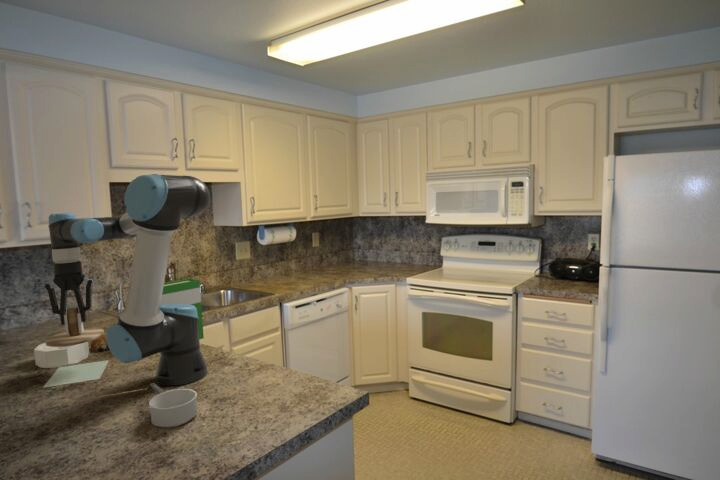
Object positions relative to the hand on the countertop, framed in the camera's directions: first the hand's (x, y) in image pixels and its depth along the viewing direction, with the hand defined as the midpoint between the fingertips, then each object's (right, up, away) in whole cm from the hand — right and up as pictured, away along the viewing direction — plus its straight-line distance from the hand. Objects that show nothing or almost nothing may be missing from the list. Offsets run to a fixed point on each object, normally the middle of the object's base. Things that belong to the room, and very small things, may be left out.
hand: (75, 332), depth 144 cm
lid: (0, -2, 0) cm, 2 cm away
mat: (0, -14, +2) cm, 14 cm away
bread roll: (-5, -12, +27) cm, 30 cm away
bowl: (-13, -13, +15) cm, 24 cm away
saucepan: (+42, -16, -28) cm, 53 cm away
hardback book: (+21, -11, +32) cm, 39 cm away
